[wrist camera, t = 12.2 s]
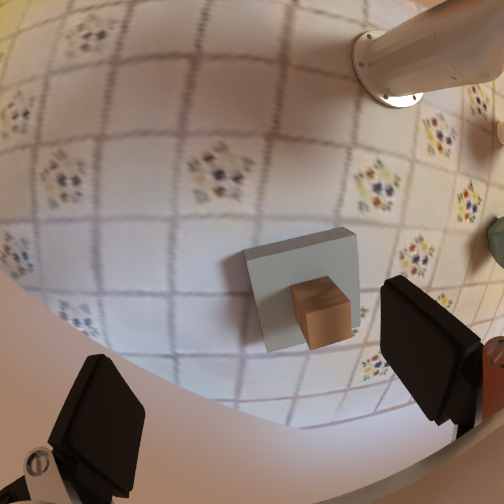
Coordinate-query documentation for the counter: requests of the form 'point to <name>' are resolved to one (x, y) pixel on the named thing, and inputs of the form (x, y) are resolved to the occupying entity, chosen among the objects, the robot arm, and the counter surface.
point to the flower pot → (497, 241)
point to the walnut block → (321, 312)
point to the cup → (500, 132)
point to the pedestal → (300, 279)
